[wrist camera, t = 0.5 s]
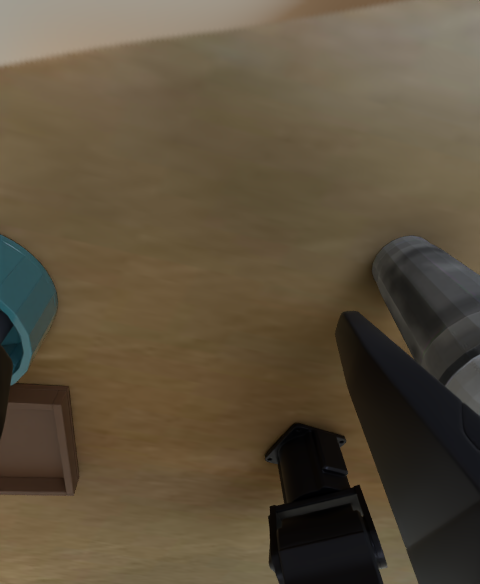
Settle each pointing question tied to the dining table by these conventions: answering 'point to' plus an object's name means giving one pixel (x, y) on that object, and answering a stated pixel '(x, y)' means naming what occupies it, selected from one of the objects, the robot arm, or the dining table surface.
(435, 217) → the dining table surface
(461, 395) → the beverage cup
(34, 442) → the tray
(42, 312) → the teal bowl
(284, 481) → the robot arm
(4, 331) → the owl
